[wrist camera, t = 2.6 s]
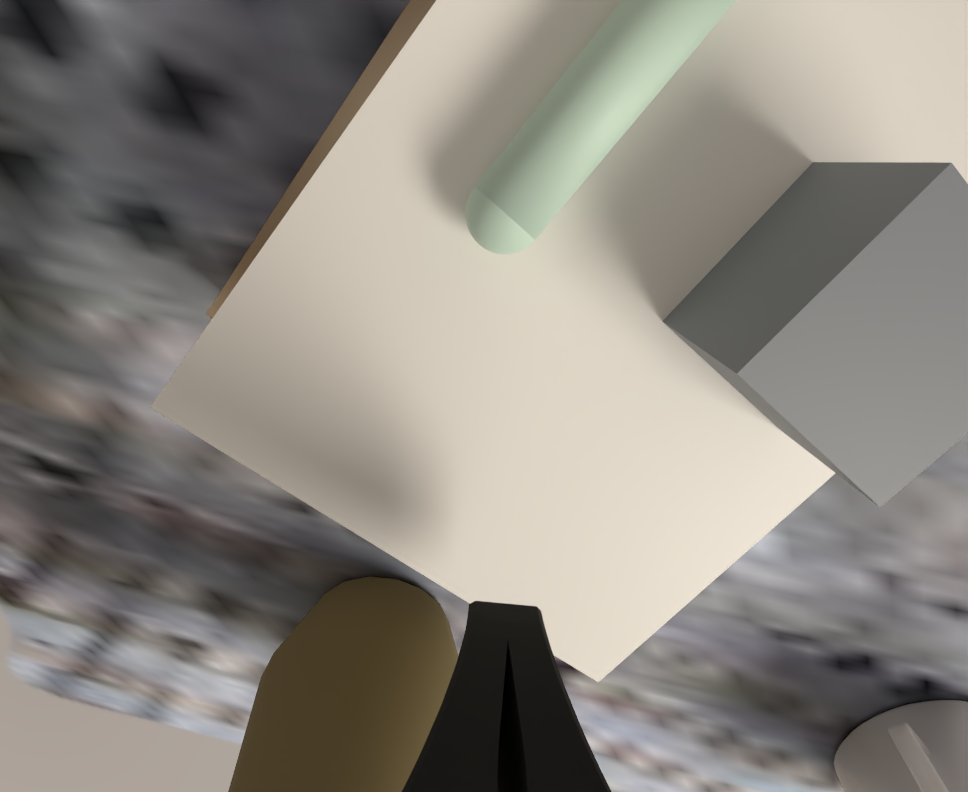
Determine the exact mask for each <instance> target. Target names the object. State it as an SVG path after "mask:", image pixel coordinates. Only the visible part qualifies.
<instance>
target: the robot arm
mask: <svg viewBox="0 0 968 792" xmlns="http://www.w3.org/2000/svg"><path fill="white" fill-rule="evenodd" d="M402 792H611V790H610V788H609V786H608V784H607V782H606V780H605V778H604V776H603V774H602V772H601V770H600V768H599V766H598V763H597V761H596V759H595V757H594V755H593V753H592V751H591V748H590V746H589V744H588V742H587V740H586V737H585V735H584V733H583V730H582V728H581V726H580V724H579V721H578V719H577V716H576V714H575V711H574V709H573V706H572V704H571V701H570V699H569V696H568V694H567V692H566V689H565V686H564V684H563V681H562V678H561V676H560V673H559V670H558V667H557V664H556V661H555V658H554V656H553V652H552V649H551V646H550V643H549V640H548V636H547V633H546V629H545V625H544V622H543V617H542V613H541V610H540V609H539V608H538V607H537V606H527V605H516V604H505V603H495V602H484V601H474V602H472V603H471V604H469V611H468V619H467V625H466V630H465V635H464V639H463V642H462V646H461V649H460V653H459V656H458V659H457V663H456V666H455V669H454V671H453V674H452V677H451V680H450V683H449V685H448V688H447V691H446V694H445V696H444V699H443V702H442V704H441V707H440V709H439V712H438V714H437V716H436V719H435V721H434V723H433V726H432V728H431V730H430V732H429V735H428V737H427V739H426V742H425V744H424V746H423V749H422V751H421V753H420V755H419V757H418V759H417V761H416V764H415V766H414V768H413V770H412V772H411V774H410V776H409V778H408V780H407V782H406V784H405V786H404V788H403V790H402Z"/></svg>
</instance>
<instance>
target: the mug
mask: <svg viewBox="0 0 968 792" xmlns="http://www.w3.org/2000/svg"><path fill="white" fill-rule="evenodd" d="M834 767H835V772H836V774H837V776H838V778H839V780H840V782H841V784H842V787H843V789H844V791H845V792H968V702H966V701H959V700H934V701H923V702H918V703H912V704H907V705H904V706H900V707H897V708H893V709H890V710H888V711H886V712H883V713H881V714H878V715H876V716H874V717H872V718H871V719H869V720H867V721H865V722H863V723H862V724H861V725H859V726H858V727H857V728H855V729H854V730H853V731H852V732H851V733H850V734H849V735H848V736H847V737H846V739H845V740H844V741H843V742H842V743H841V745H840V746H839V748H838V750H837V752H836V754H835V759H834Z"/></svg>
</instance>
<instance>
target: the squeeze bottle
mask: <svg viewBox="0 0 968 792" xmlns="http://www.w3.org/2000/svg"><path fill="white" fill-rule="evenodd" d="M457 659H458V653H457V650H456V646H455V643H454V639H453V635H452V632H451V628H450V625H449V621H448V619H447V617H446V615H445V613H444V611H443V609H442V607H441V605H440V604H439V603H438V602H437V601H436V600H434V599H433V598H432V597H431V596H430V595H428V594H427V593H426V592H425V591H423V590H422V589H421V588H418V587H416V586H413V585H410V584H408V583H405V582H402V581H400V580H397V579H390V578H379V577H364V578H359V579H354V580H350V581H345V582H342V583H340V584H339V585H337V586H336V587H334V588H333V589H331V590H330V591H328V592H326V593H325V594H324V595H323V596H322V597H321V599H320V600H319V601H318V602H317V603H316V604H315V606H314V607H313V608H312V609H311V610H310V611H309V613H308V614H307V615H306V616H305V617H304V618H303V620H302V621H301V622H300V623H299V624H298V625H297V627H296V628H295V629H294V630H293V631H292V633H291V634H290V635H289V636H288V637H287V638H286V640H285V641H284V642H283V643H282V644H281V645H280V647H279V648H278V649H277V650H276V651H275V652H274V654H273V656H272V658H271V659H270V661H269V663H268V665H267V667H266V669H265V671H264V673H263V675H262V677H261V680H260V683H259V687H258V690H257V694H256V697H255V701H254V704H253V708H252V711H251V715H250V718H249V722H248V725H247V729H246V732H245V736H244V739H243V743H242V746H241V750H240V753H239V757H238V760H237V764H236V767H235V771H234V774H233V778H232V781H231V785H230V788H229V792H402V790H403V788H404V786H405V784H406V782H407V780H408V778H409V776H410V774H411V772H412V770H413V768H414V766H415V764H416V761H417V759H418V757H419V755H420V753H421V751H422V749H423V746H424V744H425V742H426V739H427V737H428V735H429V732H430V730H431V728H432V726H433V723H434V721H435V719H436V716H437V714H438V712H439V709H440V707H441V704H442V702H443V699H444V696H445V694H446V691H447V688H448V685H449V683H450V680H451V677H452V674H453V671H454V669H455V666H456V663H457Z"/></svg>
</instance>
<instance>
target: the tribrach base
mask: <svg viewBox="0 0 968 792" xmlns="http://www.w3.org/2000/svg"><path fill="white" fill-rule="evenodd" d="M435 1H436V0H410V1H409V3H408V4H407V6H406V7H405V9H404V10H403V12H402V13H401V15H400V17H399V18H398V20H397V21H396V23H395V24H394V26H393V27H392V29H391V30H390V32H389V33H388V35H387V37H386V38H385V40H384V41H383V43H382V44H381V46H380V47H379V49H378V50H377V52H376V53H375V55H374V57H373V58H372V60H371V61H370V63H369V64H368V66H367V67H366V69H365V70H364V72H363V73H362V75H361V77H360V78H359V80H358V81H357V83H356V84H355V86H354V87H353V89H352V90H351V92H350V93H349V95H348V96H347V98H346V100H345V101H344V103H343V104H342V106H341V107H340V109H339V110H338V112H337V113H336V115H335V116H334V118H333V120H332V121H331V123H330V124H329V126H328V127H327V129H326V130H325V132H324V133H323V135H322V136H321V138H320V140H319V141H318V143H317V144H316V146H315V147H314V149H313V150H312V152H311V153H310V155H309V156H308V158H307V160H306V161H305V163H304V164H303V166H302V167H301V169H300V170H299V172H298V173H297V175H296V176H295V178H294V179H293V181H292V183H291V184H290V186H289V187H288V189H287V190H286V192H285V193H284V195H283V196H282V198H281V199H280V201H279V203H278V204H277V206H276V207H275V209H274V210H273V212H272V213H271V215H270V216H269V218H268V219H267V221H266V223H265V224H264V226H263V227H262V229H261V230H260V232H259V233H258V235H257V236H256V238H255V239H254V241H253V243H252V244H251V246H250V247H249V249H248V250H247V252H246V253H245V255H244V256H243V258H242V259H241V261H240V262H239V264H238V266H237V267H236V269H235V270H234V272H233V273H232V275H231V276H230V278H229V279H228V281H227V282H226V284H225V286H224V287H223V289H222V290H221V292H220V293H219V295H218V296H217V298H216V299H215V301H214V302H213V304H212V306H211V307H210V309H209V310H208V312H207V313H206V315H208V316H209V317H211V318H213V317H214V316H215V314H216V313H217V311H218V310H219V308H220V307H221V306H222V304H223V303H224V301H225V300H226V298H227V297H228V296H229V294H230V293H231V291H232V290H233V288H234V287H235V286H236V284H237V283H238V281H239V280H240V279H241V277H242V276H243V274H244V273H245V271H246V270H247V269H248V267H249V266H250V264H251V263H252V261H253V260H254V259H255V257H256V256H257V254H258V253H259V252H260V250H261V249H262V247H263V246H264V244H265V243H266V242H267V240H268V239H269V237H270V236H271V234H272V233H273V232H274V230H275V229H276V227H277V226H278V224H279V223H280V222H281V220H282V219H283V217H284V216H285V215H286V213H287V212H288V210H289V209H290V207H291V206H292V205H293V203H294V202H295V200H296V199H297V197H298V196H299V195H300V193H301V192H302V190H303V189H304V188H305V186H306V185H307V183H308V182H309V180H310V179H311V178H312V176H313V175H314V173H315V172H316V170H317V169H318V168H319V166H320V165H321V163H322V162H323V161H324V159H325V158H326V156H327V155H328V153H329V152H330V151H331V149H332V148H333V146H334V145H335V143H336V142H337V141H338V139H339V138H340V136H341V135H342V133H343V132H344V131H345V129H346V128H347V126H348V125H349V124H350V122H351V121H352V119H353V118H354V116H355V115H356V114H357V112H358V111H359V109H360V108H361V106H362V105H363V104H364V102H365V101H366V99H367V98H368V97H369V95H370V94H371V92H372V91H373V89H374V88H375V87H376V85H377V84H378V82H379V81H380V79H381V78H382V77H383V75H384V74H385V72H386V71H387V70H388V68H389V67H390V65H391V64H392V62H393V61H394V60H395V58H396V57H397V55H398V54H399V52H400V51H401V50H402V48H403V47H404V45H405V44H406V42H407V41H408V40H409V38H410V37H411V35H412V34H413V33H414V31H415V30H416V28H417V27H418V25H419V24H420V23H421V21H422V20H423V18H424V17H425V15H426V14H427V13H428V11H429V10H430V8H431V7H432V6H433V4H434V3H435Z"/></svg>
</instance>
